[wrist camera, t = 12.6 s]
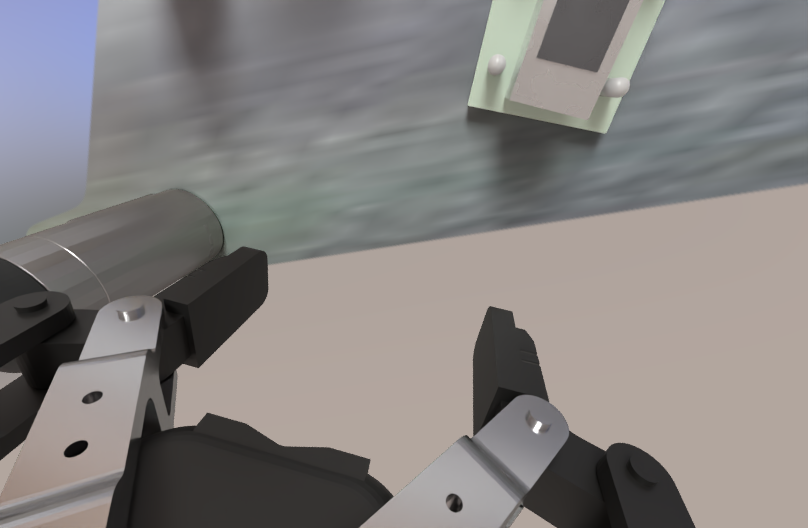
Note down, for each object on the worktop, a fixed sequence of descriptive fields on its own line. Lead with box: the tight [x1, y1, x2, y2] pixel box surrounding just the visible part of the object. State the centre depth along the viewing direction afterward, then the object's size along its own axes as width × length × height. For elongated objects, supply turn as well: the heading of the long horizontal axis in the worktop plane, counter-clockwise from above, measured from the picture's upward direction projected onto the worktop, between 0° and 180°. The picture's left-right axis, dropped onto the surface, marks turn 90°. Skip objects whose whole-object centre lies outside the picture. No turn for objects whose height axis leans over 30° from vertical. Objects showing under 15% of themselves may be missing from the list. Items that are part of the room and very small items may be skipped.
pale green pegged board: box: [467, 0, 665, 134], centre depth 23 cm, size 14×11×4 cm
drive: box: [505, 0, 643, 120], centre depth 21 cm, size 12×5×6 cm, turn 167°
